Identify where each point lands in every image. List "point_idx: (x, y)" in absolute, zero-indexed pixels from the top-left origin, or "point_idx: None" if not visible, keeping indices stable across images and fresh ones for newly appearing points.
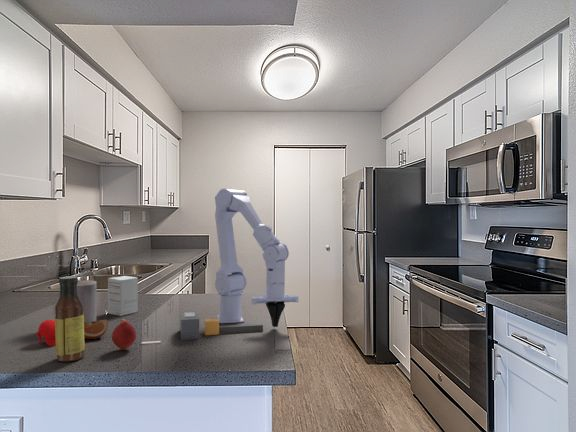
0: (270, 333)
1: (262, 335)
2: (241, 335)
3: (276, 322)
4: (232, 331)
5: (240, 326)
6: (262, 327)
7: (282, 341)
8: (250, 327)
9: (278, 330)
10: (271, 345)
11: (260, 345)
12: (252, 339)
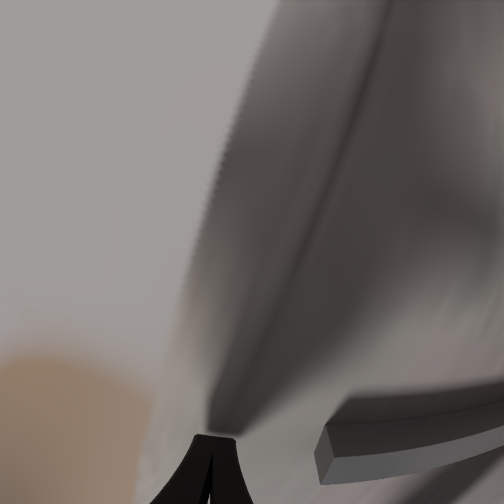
0: (299, 351)
1: (391, 312)
2: (495, 345)
3: (205, 460)
4: (496, 407)
5: (479, 432)
6: (334, 442)
7: (289, 58)
8: (422, 437)
9: (196, 404)
10: (410, 16)
11: (477, 62)
12: (491, 227)
